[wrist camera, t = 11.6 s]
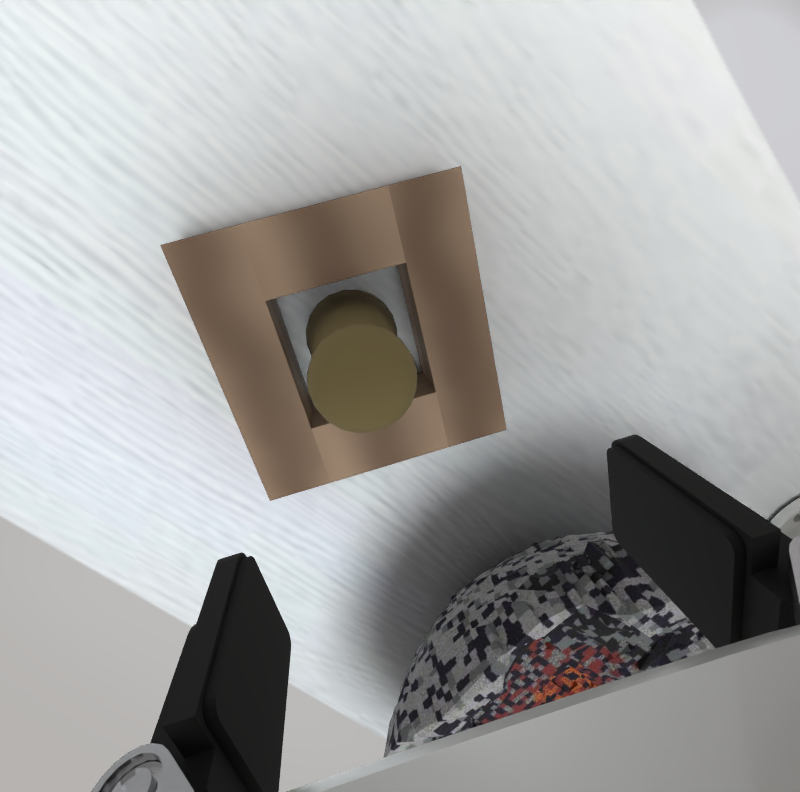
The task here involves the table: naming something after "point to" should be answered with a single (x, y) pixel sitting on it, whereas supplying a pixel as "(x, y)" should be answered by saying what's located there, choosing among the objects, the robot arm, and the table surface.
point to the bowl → (538, 638)
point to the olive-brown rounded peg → (358, 363)
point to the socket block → (323, 264)
